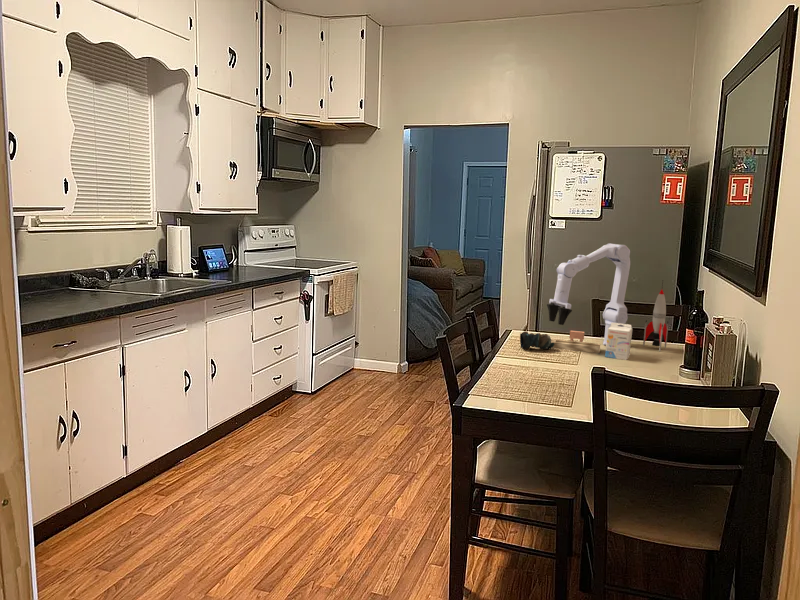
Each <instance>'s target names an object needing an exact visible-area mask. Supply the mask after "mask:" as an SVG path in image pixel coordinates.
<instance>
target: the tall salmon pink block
mask: <svg viewBox="0 0 800 600" xmlns="http://www.w3.org/2000/svg"><path fill="white" fill-rule="evenodd" d="M584 339H585V331H579V330H569V341H574V340H579V342H584Z"/></svg>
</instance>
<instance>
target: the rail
mask: <svg viewBox="0 0 800 600" xmlns="http://www.w3.org/2000/svg"><path fill="white" fill-rule="evenodd" d="M551 343H555V344H554V346H553V347H552V348H551V349H555V350H564V349H565V350H567V351H577V352H583V353H584V352H585V353H593V354H595V353H597V354H600V352H601V343H597V342H585V341H583V342H580V341H575V340H573V341H570V340H567V339H558V338H557V339H556V338H555V339H554V338H551Z"/></svg>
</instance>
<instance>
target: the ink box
mask: <svg viewBox="0 0 800 600" xmlns="http://www.w3.org/2000/svg"><path fill="white" fill-rule="evenodd" d="M618 325H623V326H624V327H620V326H618ZM632 335H633V328H632V324H628V323H625V324H621V323H613V322H612V323H611V326H610V327H609V328H608V333H607V343H606V345H605V352H604V353H605V355H604V357H605V358H611V359H617V360H624V361H625V360H626V361H627V360H628V359H629V358H630V354H631V346H632V345H631V344H632V337H633V336H632Z"/></svg>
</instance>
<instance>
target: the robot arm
mask: <svg viewBox="0 0 800 600" xmlns="http://www.w3.org/2000/svg"><path fill="white" fill-rule="evenodd" d="M630 255H631V250H630V248H629V247H628V246H627V245H626V244H617V243H610V242H608V243H607V244H604V245H602V246H601V247H600V248H598V249H596V250H595V251H594V250H593V252H590V253H589V254H587V255H584V254H577V255H576V257H575V258H572V259H568V261H567V262H561V263H560V264H559V265H558V267H556V273H557V279H556V287H555V290H554V291H555V292H554V297H553V298H549V303H547V304H546V306H547V311H548V317H549V318H548V319H549V321H548V322H555V321H556V318H557V315H558V323H557V324H558V325H561V326H564V325H565V323H566V320H567V319H568V316H569V315H570V314H571V313H572V312H573V310H572V304H571V303H569V297H570V296H569V295H570V291H571V286H572V281H573V278H574V277H575V276H576V275H577V273H579V272H580V271H583V270H585V269H587V268H588V267H589V266H590V263H593V262H596V261H598V260H600V259H603V258H607V259H608V260H610V261H611V262H612V263H613V264H614V265H615V267H616V268H615V272H614V279H613V285H612V290H611V297H610V301H609V302H608V303H606V305H605V309H604V310H603V312H602V318H603V320H604V324H605V329H604V336H603V337H604V338H603V340H602V345H604V346H606V343H607V333H608V328H609V327H610V326H611V323H612V322H613V323H621V324H627V322H628V316H629V315H628V308H627V306H626V305H625V299H626V298H625V297H626V291H627V287H628V280H629V274H630V270H631V269H630V268H631V258H630V257H631V256H630ZM618 326H620V327H624V326H623V325H618Z"/></svg>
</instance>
